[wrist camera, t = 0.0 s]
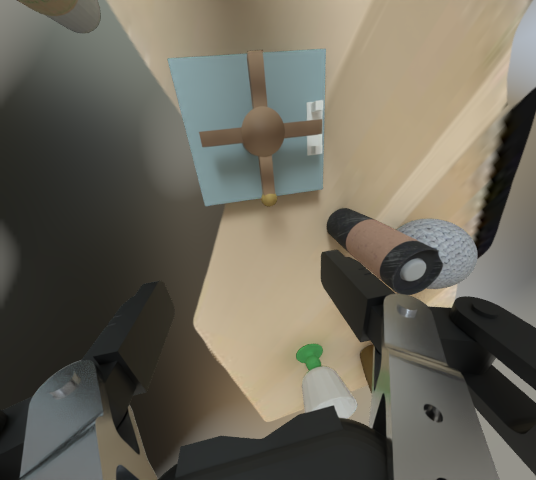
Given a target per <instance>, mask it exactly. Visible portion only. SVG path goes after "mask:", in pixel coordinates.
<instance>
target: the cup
mask: <svg viewBox="0 0 536 480" xmlns="http://www.w3.org/2000/svg"><path fill="white" fill-rule="evenodd" d="M322 352H323V349H322V347H321V346H320V345H318V344H308V345H306V346H304V347H302V348H301V349H300V350H299V351H298V352H297V354H296V358H297V360H298V361H300V362H301V363H306V366H307V368H308V370H309V371H308V372H307V373H306V375H305V376H304V377H303V381H302V392H303V400H304V409H305V413H307V412H311V411H314V410H318V409H322V408H325V407H329V406H333V405H334V407H335V410H336V412H337V415H338V417H339V418H346V419H347V418H349V417H350V416H351V415H352V414H353V413H354V412H355V411H356V408H357V402H356V400H355V398H354V397H353V395H352V394H351V392H350V391H349V390H348V388H347V387H346V385H345V384H344V382H343V381H342V380H341V378H340V377H339V375H338V374H337V372H336V371H335V370H333V369H332V368H330V367H327V366H321V362H320V360H319V357H320V356H321V355H322Z"/></svg>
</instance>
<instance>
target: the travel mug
mask: <svg viewBox="0 0 536 480" xmlns="http://www.w3.org/2000/svg"><path fill="white" fill-rule="evenodd" d="M327 230H328V232H329V234H330V235H331V236H332V237H333V238H334V239H335V240H336V241H337V242H338V243H339V244H340V245H341V246H343V247H344V248H345V249H346V250H347V251H348V252H349V253H350V254H351V255H352V256H354V257H355V258H356V259H357V260H358V261H359V262H361V263H362V264H363V265H364V266H365V267H367V268H368V269H369V270H370V271H371V272H373V273H374V274H375V275H376V276H377V277H379V278H380V279H381V280H382V281H383V282H385V283H386V284H387V285H388V286H389V287H390V288H392V289H393V290H394V291H395V292H397V293H399V294H405V295H412V294H415V293H418V292H420V291H422V290H424V289H425V288H427V287H428V286H430V285H431V284H432V283H433V282H434V281H435V280H436V279H437V277H438V276H439V274H440V273H441V271H442V268H443V262H442V261H441V259H440V257H439V254H438V252H439V250H437V249H434V248H432V247H430V246H428V245H426V244H424V243H422V242H420V241H418V240H416V239H414V238H412V237H410V236H408V235H406V234H403V233H401V232H399V231H397V230H395V229H393V228H391V227H389V226H387V225H385V224H383V223H381V222H379V221H377V220H374V219H372V218H370V217H367V216H365V215H363V214H360V213H358V212H355V211H353V210H350V209H347V208H343V209H339V210H337V211H335V212H334V213H333V214H332V215H331V216H330V217H329V219H328V222H327Z"/></svg>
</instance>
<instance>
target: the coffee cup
mask: <svg viewBox="0 0 536 480" xmlns="http://www.w3.org/2000/svg"><path fill="white" fill-rule="evenodd" d="M17 1H19V2H21V3H22V4H24V5H26V6H28V7H29V8H31V9H33V10H34V11H37V12H39V13H41V14H44V15H46V16H47V17H49V18H51V19H53V20H54V21H56V22H58V23H59V24H61V25H63V26H64V27H66V28H68V29H70V30H72V31H74V32H77V33H89V32H91V31H93V30H94V29H96V28H97V26H98V25H99V22H100V18H101V13H100V7H99V4H98V0H17Z"/></svg>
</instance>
